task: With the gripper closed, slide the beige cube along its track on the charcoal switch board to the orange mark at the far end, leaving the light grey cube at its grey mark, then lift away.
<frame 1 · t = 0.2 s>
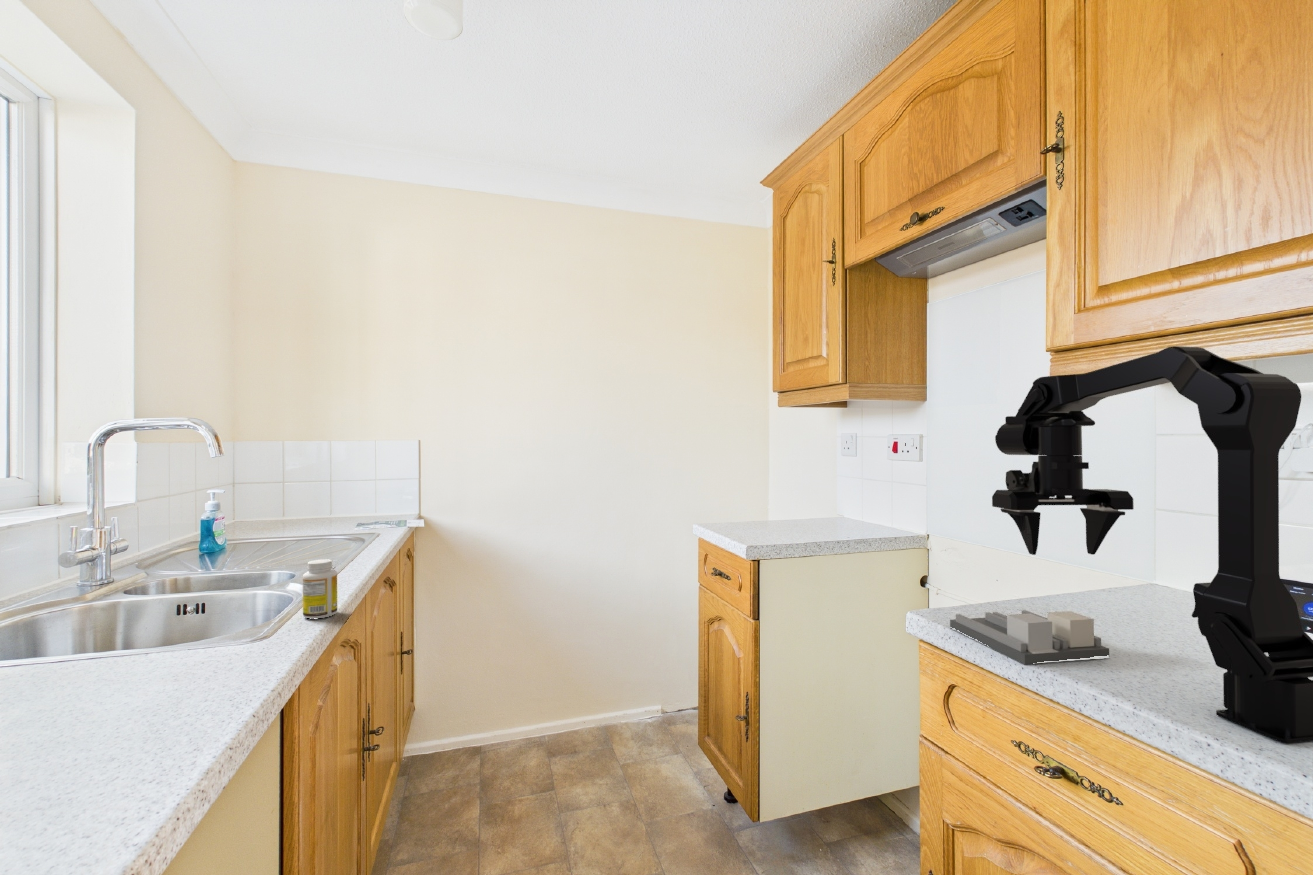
hand: (1061, 554, 90), 14 cm above the countertop, tool pointing down, fingers open, 9 cm apart
light grey cube: (1029, 631, 84), point 4 cm above the countertop, slide at 0.0 cm
supplement bottle: (320, 616, 106), on the countertop
switch board: (1023, 642, 90), on the countertop
beige cube: (1070, 628, 86), point 4 cm above the countertop, slide at 0.0 cm
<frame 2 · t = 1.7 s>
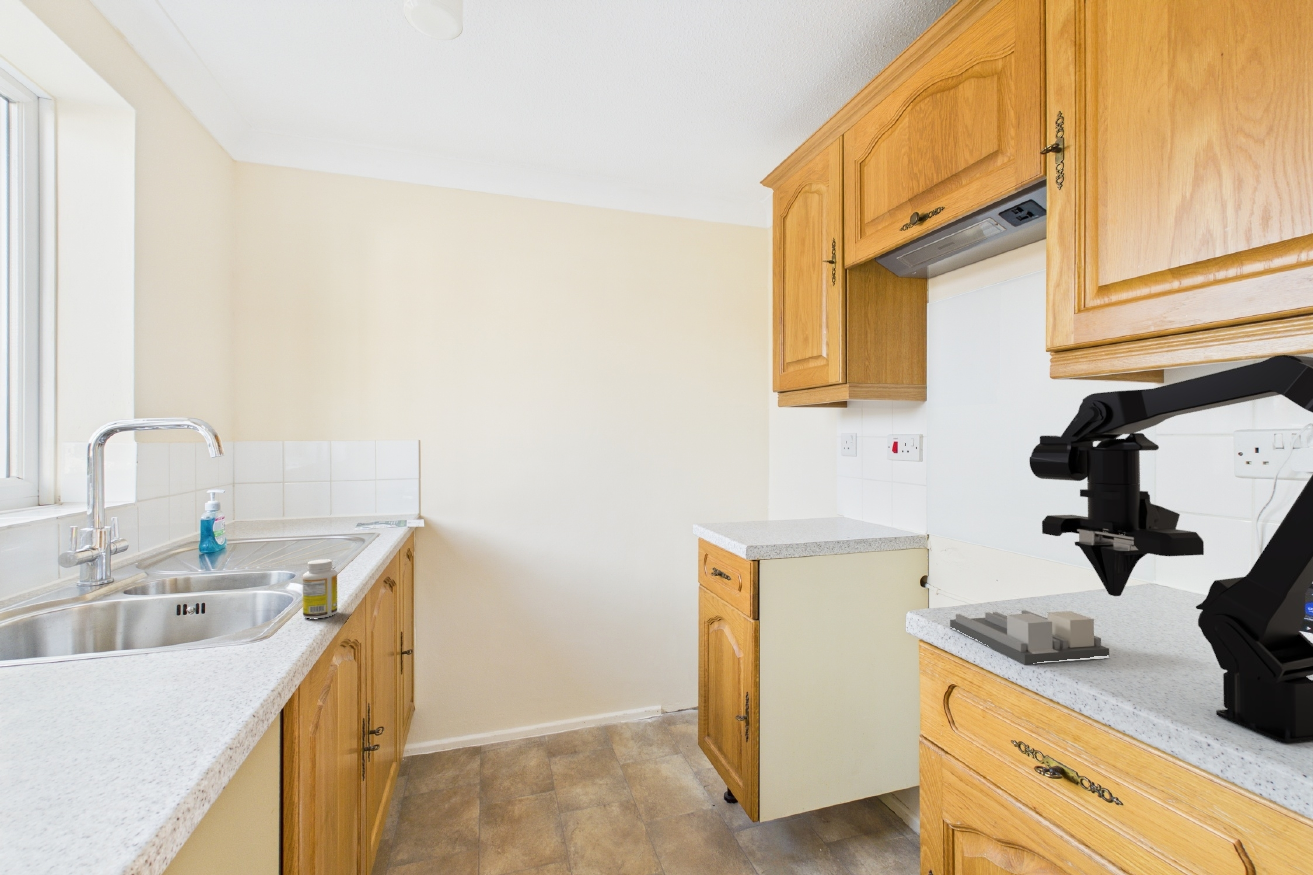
hand: (1114, 595, 79), 11 cm above the countertop, tool pointing down, fingers closed
nothing on the countertop moved.
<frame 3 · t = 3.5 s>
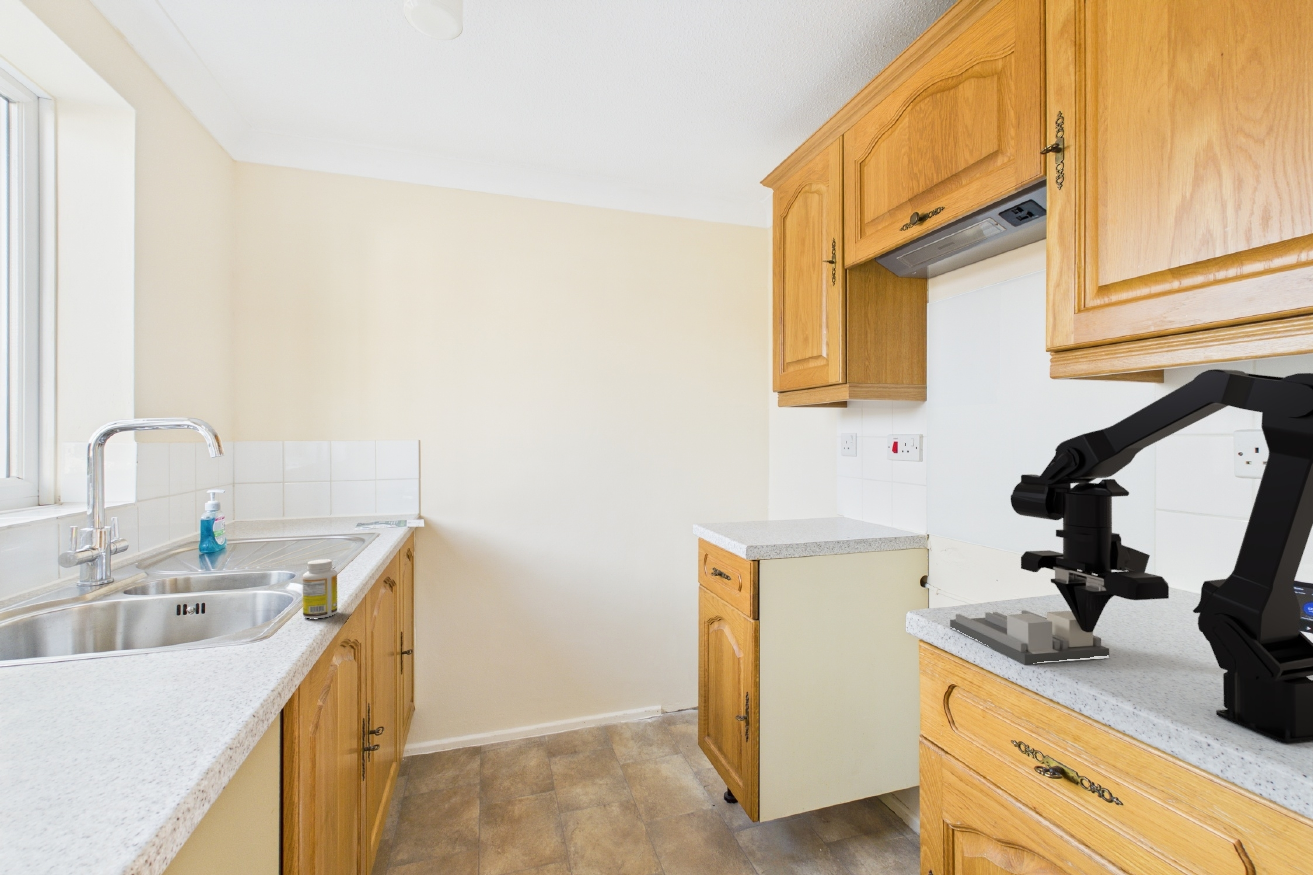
hand: (1087, 631, 83), 4 cm above the countertop, tool pointing down, fingers closed
beige cube: (1069, 628, 86), point 4 cm above the countertop, slide at 0.2 cm, touching gripper
everything else where it was.
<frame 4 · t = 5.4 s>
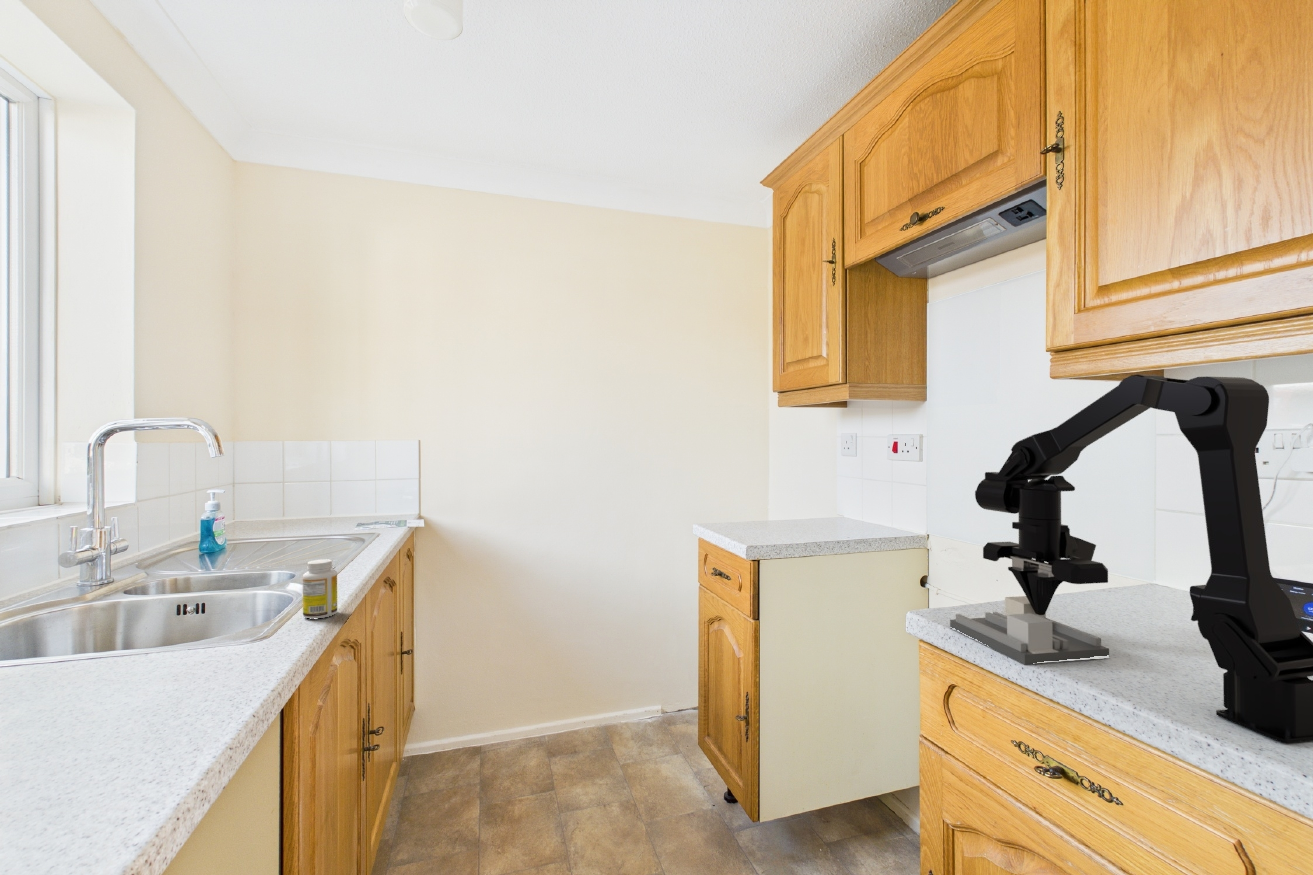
hand: (1040, 614, 91), 4 cm above the countertop, tool pointing down, fingers closed
beige cube: (1025, 611, 94), point 4 cm above the countertop, slide at 8.6 cm, touching gripper
everything else where it was.
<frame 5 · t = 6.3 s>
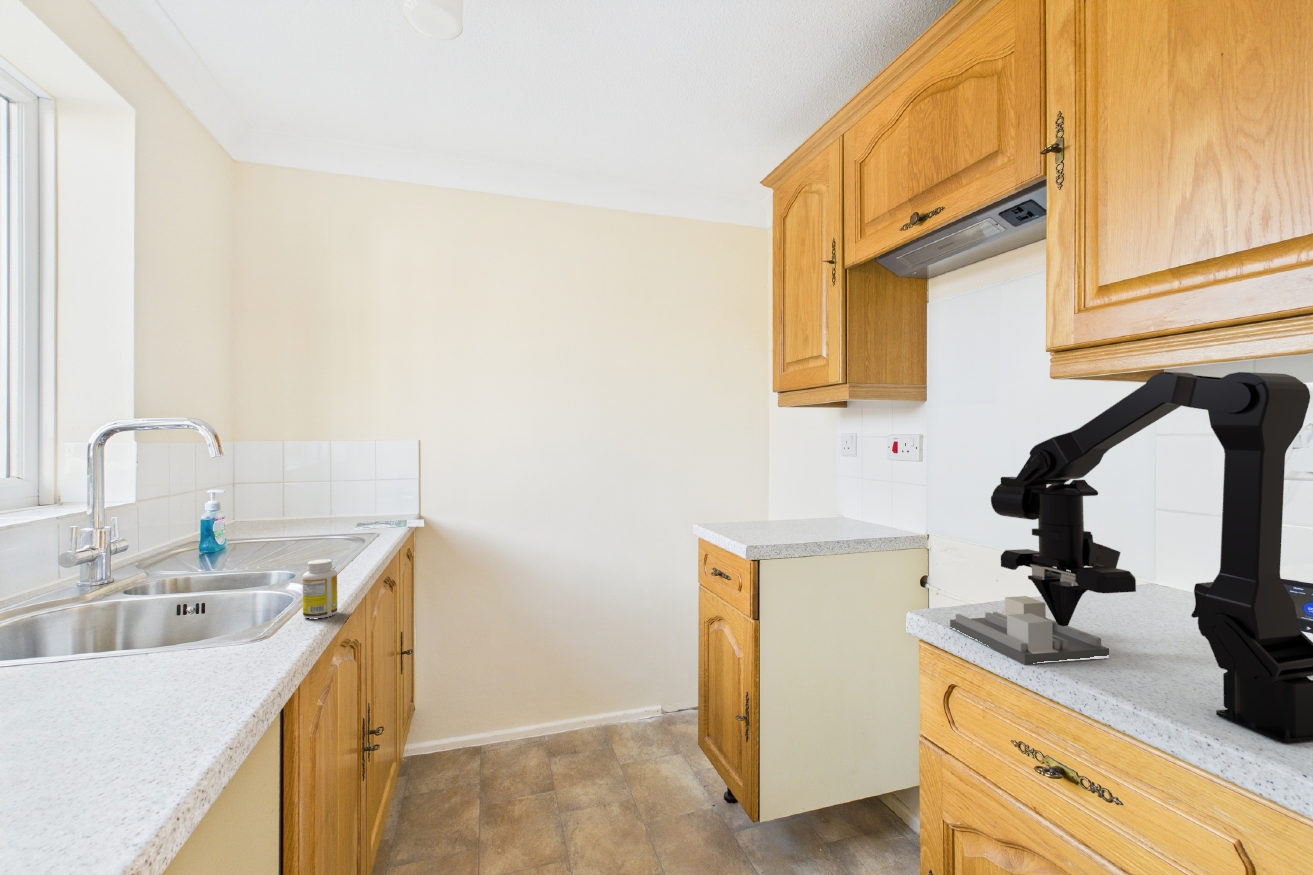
hand: (1062, 625, 87), 4 cm above the countertop, tool pointing down, fingers closed
beige cube: (1024, 611, 94), point 4 cm above the countertop, slide at 8.6 cm
everything else where it was.
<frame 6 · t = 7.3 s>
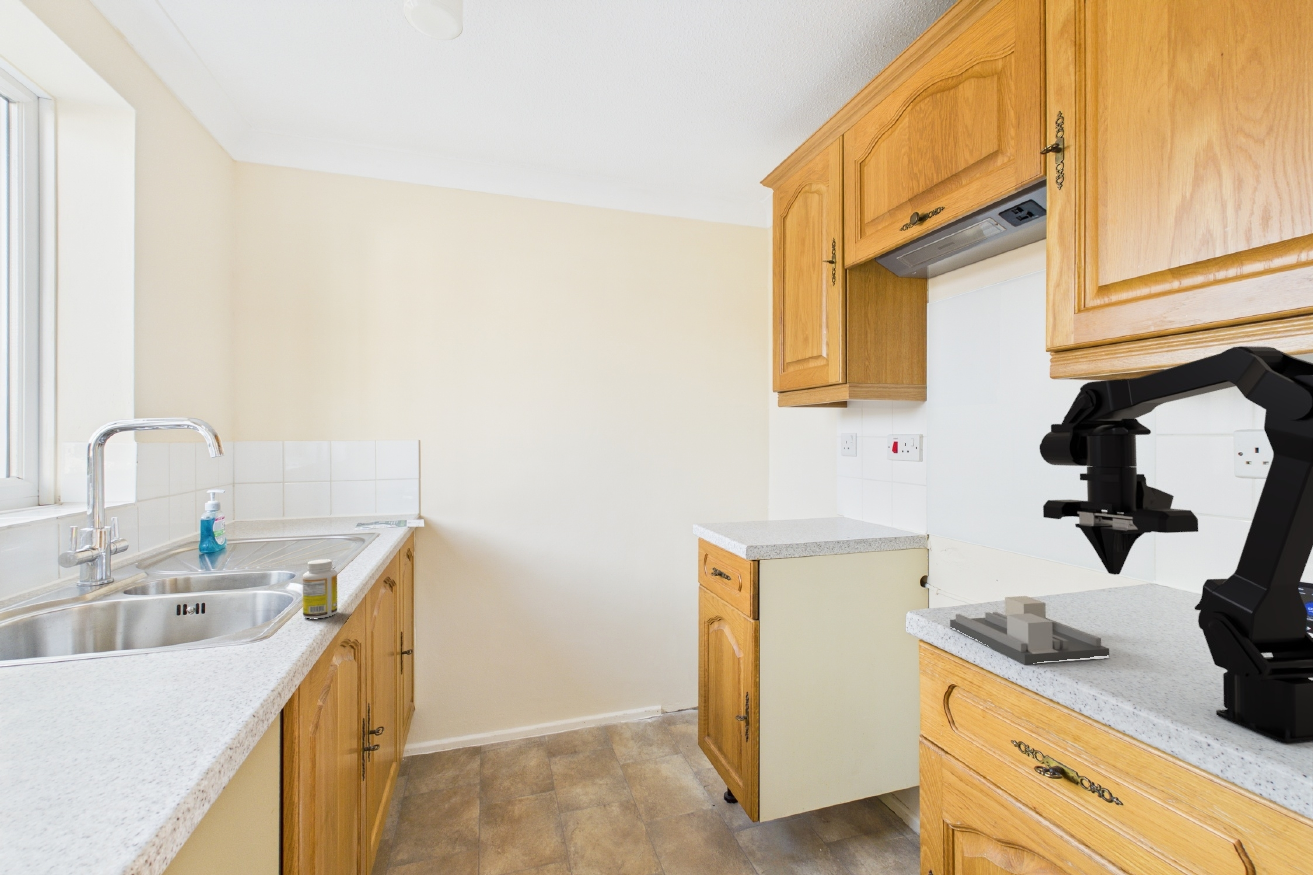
hand: (1114, 573, 82), 13 cm above the countertop, tool pointing down, fingers closed
nothing on the countertop moved.
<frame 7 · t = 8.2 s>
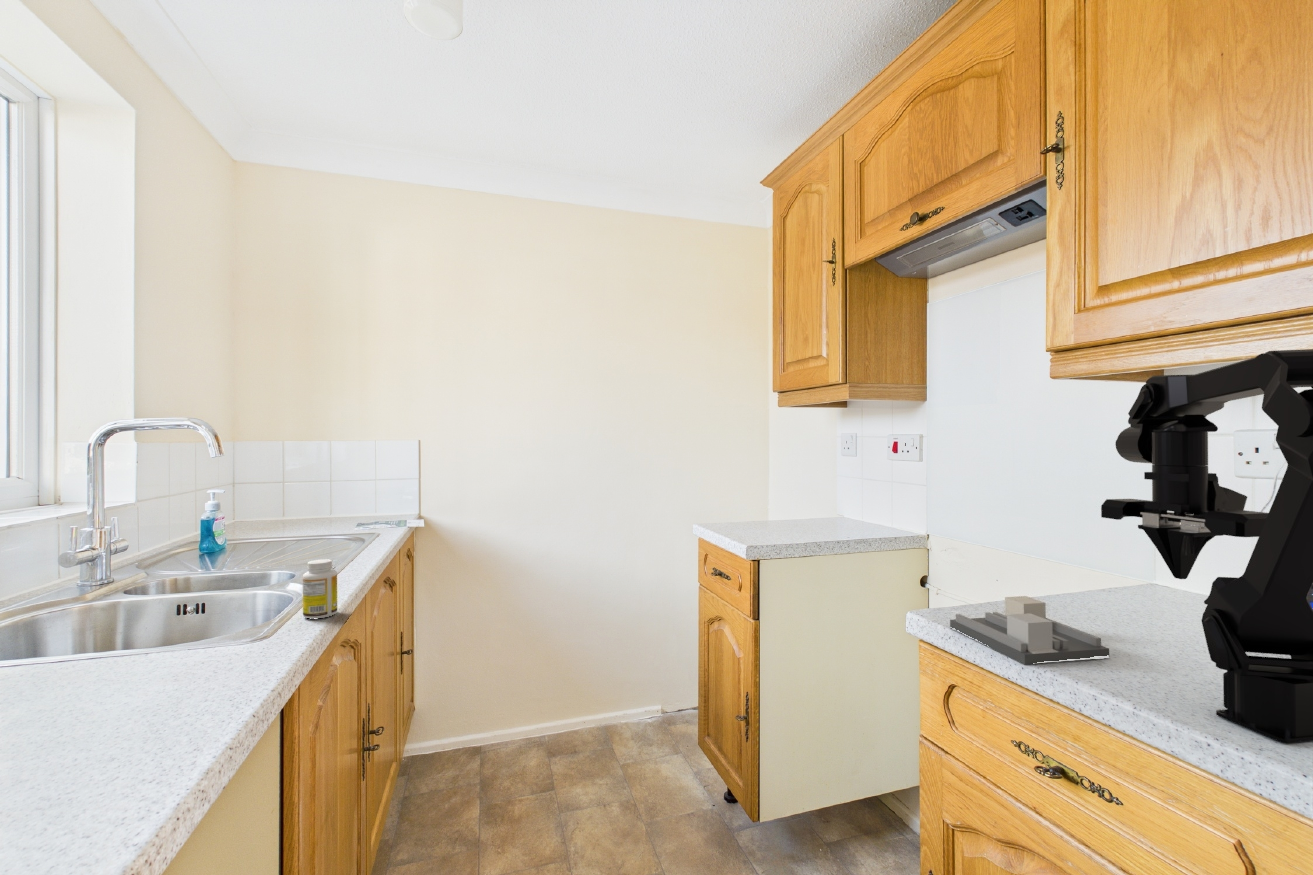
hand: (1180, 578, 78), 13 cm above the countertop, tool pointing down, fingers closed
nothing on the countertop moved.
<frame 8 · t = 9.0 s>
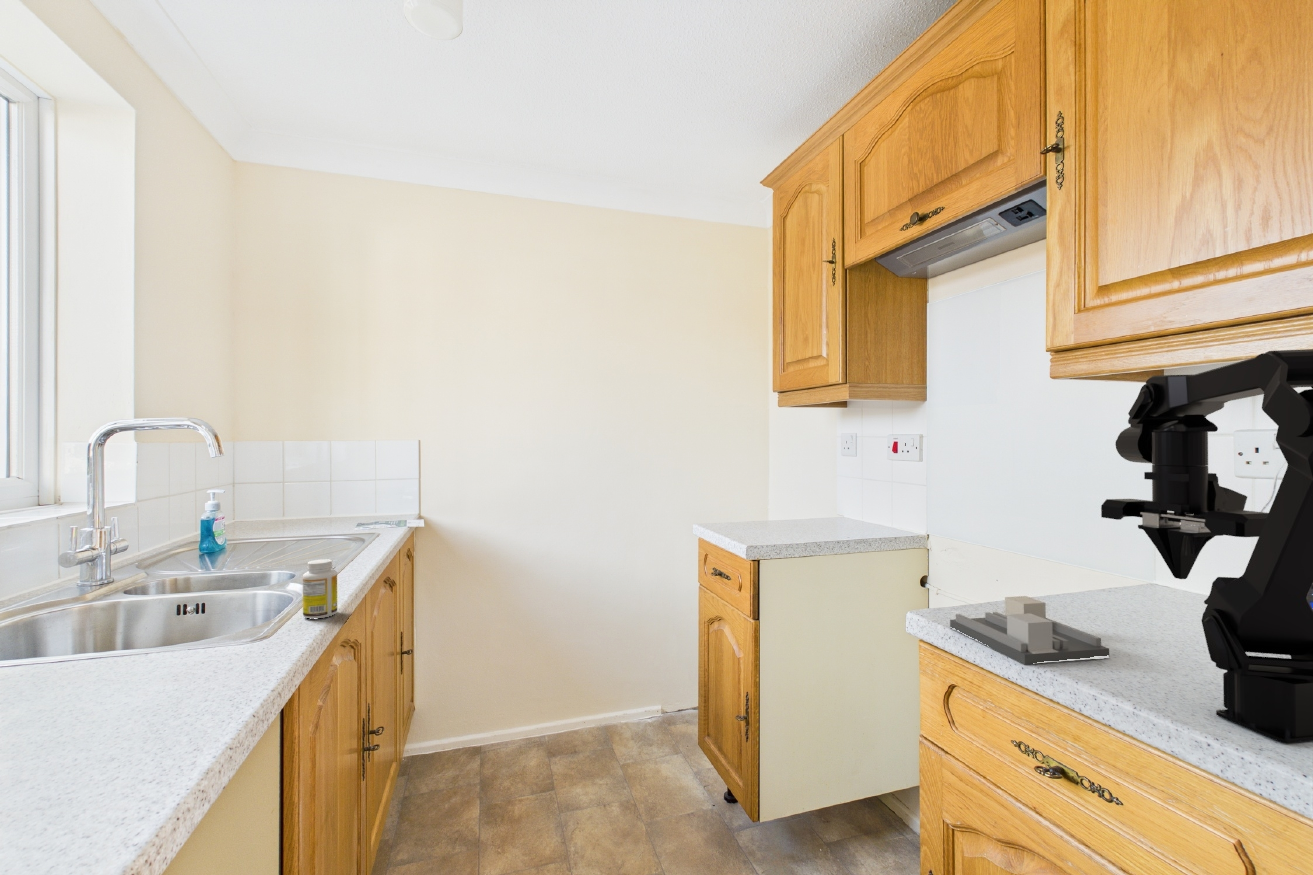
hand: (1180, 578, 78), 13 cm above the countertop, tool pointing down, fingers closed
nothing on the countertop moved.
at the end: beige cube slide at 8.6 cm; light grey cube slide at 0.0 cm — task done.
